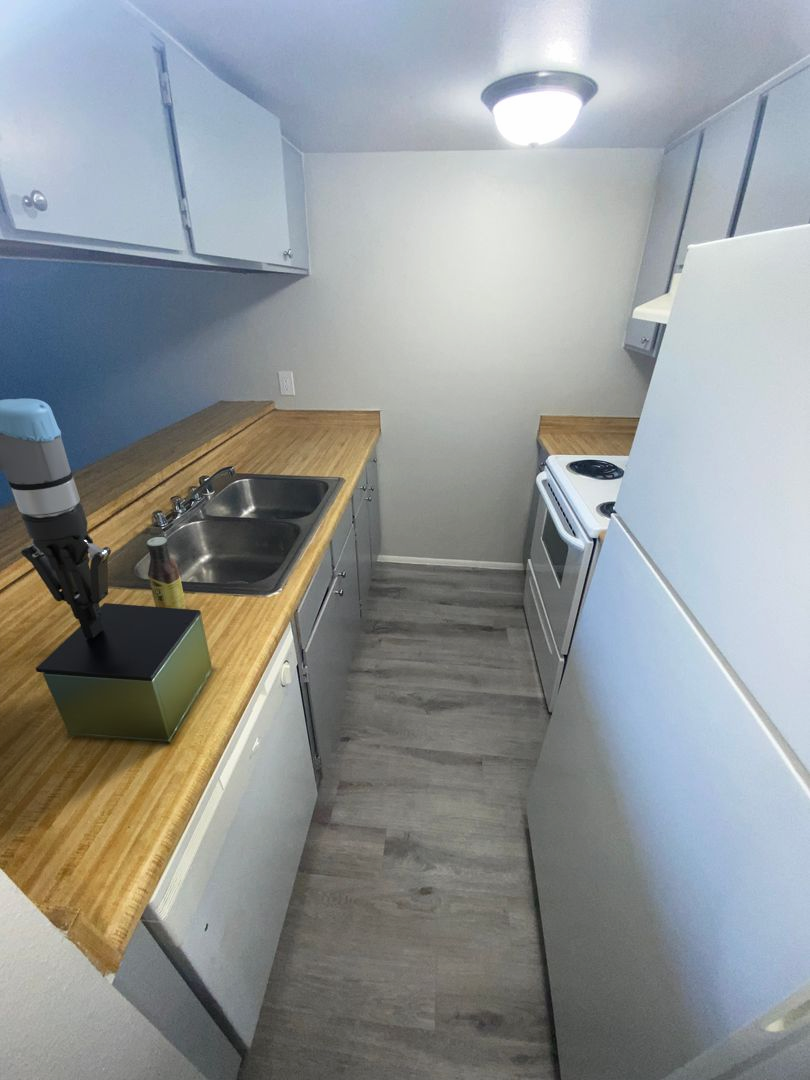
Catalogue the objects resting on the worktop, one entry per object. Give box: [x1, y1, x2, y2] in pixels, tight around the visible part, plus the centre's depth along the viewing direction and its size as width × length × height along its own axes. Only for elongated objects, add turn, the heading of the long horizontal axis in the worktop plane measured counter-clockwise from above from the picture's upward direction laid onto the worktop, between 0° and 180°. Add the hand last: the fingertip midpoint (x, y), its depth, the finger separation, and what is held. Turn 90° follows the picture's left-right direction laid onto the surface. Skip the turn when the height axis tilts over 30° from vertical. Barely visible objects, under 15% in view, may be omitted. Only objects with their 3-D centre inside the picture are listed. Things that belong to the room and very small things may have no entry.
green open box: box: [42, 613, 214, 745], centre depth 85 cm, size 18×18×14 cm
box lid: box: [35, 602, 202, 681], centre depth 81 cm, size 18×18×1 cm
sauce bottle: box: [146, 536, 187, 609], centre depth 107 cm, size 7×6×20 cm
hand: (94, 632), depth 81 cm, fingers closed
